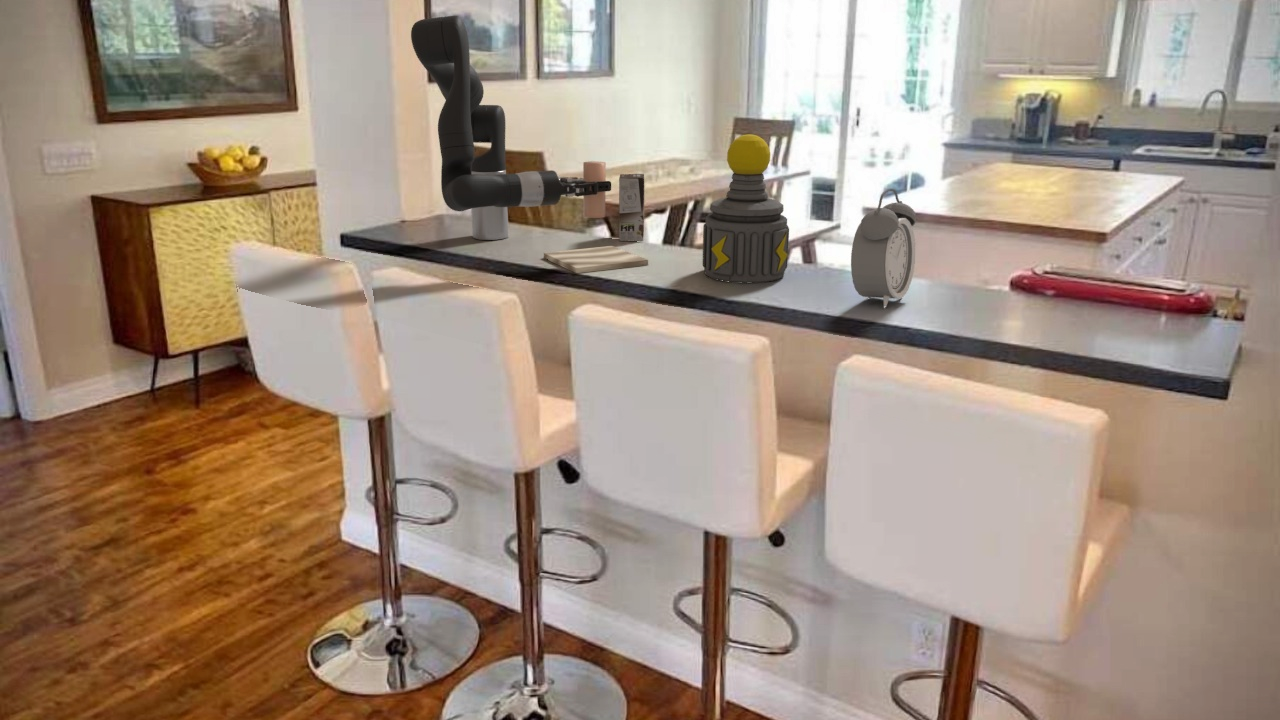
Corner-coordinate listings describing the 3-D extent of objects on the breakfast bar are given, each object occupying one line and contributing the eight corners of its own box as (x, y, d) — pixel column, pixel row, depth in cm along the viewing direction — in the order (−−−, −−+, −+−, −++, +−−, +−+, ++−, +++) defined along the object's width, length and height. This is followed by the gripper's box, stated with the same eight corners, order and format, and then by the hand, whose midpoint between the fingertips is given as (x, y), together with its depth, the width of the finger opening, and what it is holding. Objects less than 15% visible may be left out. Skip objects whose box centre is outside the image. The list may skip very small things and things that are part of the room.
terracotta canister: (579, 215, 218) (579, 161, 215) (599, 213, 221) (599, 161, 217) (589, 218, 214) (589, 164, 211) (609, 217, 216) (609, 163, 213)
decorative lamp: (803, 273, 210) (811, 133, 201) (757, 289, 196) (763, 140, 187) (732, 261, 222) (737, 128, 212) (683, 275, 208) (686, 134, 198)
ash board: (543, 257, 224) (543, 252, 224) (611, 250, 233) (611, 245, 232) (576, 273, 209) (576, 267, 209) (648, 264, 218) (648, 259, 217)
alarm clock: (886, 314, 178) (897, 196, 171) (842, 307, 183) (851, 192, 176) (915, 296, 191) (926, 185, 184) (874, 290, 196) (882, 182, 189)
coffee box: (643, 241, 244) (644, 177, 239) (618, 241, 244) (618, 177, 239) (644, 234, 252) (644, 173, 247) (620, 234, 252) (620, 173, 247)
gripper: (548, 174, 202) (619, 171, 209) (522, 168, 214) (590, 164, 221) (549, 210, 204) (619, 205, 212) (523, 201, 216) (591, 197, 224)
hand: (604, 184), depth 217 cm, fingers closed on terracotta canister, 5 cm apart
